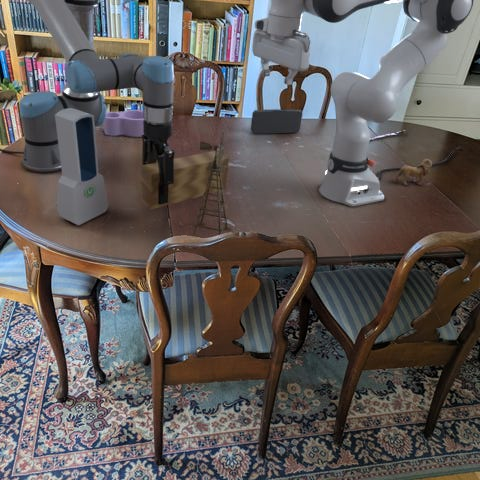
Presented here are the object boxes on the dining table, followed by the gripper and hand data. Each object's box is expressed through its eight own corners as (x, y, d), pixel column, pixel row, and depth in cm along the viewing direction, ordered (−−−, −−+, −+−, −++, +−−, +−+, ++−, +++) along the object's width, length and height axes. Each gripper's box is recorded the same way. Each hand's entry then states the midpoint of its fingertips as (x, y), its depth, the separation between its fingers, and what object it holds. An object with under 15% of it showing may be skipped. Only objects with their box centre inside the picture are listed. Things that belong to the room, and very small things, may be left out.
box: (151, 209, 131) (151, 174, 125) (141, 199, 135) (140, 165, 129) (225, 189, 146) (228, 157, 140) (214, 181, 150) (217, 150, 143)
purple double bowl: (105, 137, 184) (104, 120, 180) (103, 126, 193) (101, 110, 190) (156, 136, 190) (156, 119, 186) (151, 125, 200) (151, 109, 196)
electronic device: (75, 227, 128) (63, 121, 112) (57, 218, 131) (42, 113, 115) (109, 210, 137) (102, 110, 121) (90, 202, 140) (81, 103, 124)
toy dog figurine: (420, 178, 179) (427, 156, 174) (429, 184, 174) (437, 162, 170) (388, 181, 174) (395, 158, 169) (397, 187, 170) (404, 164, 165)
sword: (403, 130, 224) (403, 128, 224) (408, 133, 222) (409, 130, 222) (360, 142, 209) (360, 139, 208) (365, 144, 207) (365, 142, 206)
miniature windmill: (221, 244, 128) (229, 139, 111) (191, 238, 129) (195, 134, 112) (228, 227, 135) (237, 127, 119) (200, 222, 136) (205, 122, 120)
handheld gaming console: (297, 130, 211) (300, 108, 206) (299, 132, 209) (303, 110, 204) (249, 131, 204) (252, 109, 199) (252, 134, 202) (254, 111, 197)
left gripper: (189, 130, 118) (186, 209, 131) (152, 107, 130) (152, 181, 142) (163, 135, 114) (162, 216, 126) (127, 110, 125) (130, 186, 138)
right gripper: (319, 34, 120) (310, 88, 127) (268, 20, 133) (262, 70, 140) (302, 35, 116) (293, 90, 124) (251, 20, 129) (246, 71, 137)
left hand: (157, 197), depth 134 cm, fingers closed on box, 6 cm apart
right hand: (276, 79), depth 132 cm, fingers open, 8 cm apart
